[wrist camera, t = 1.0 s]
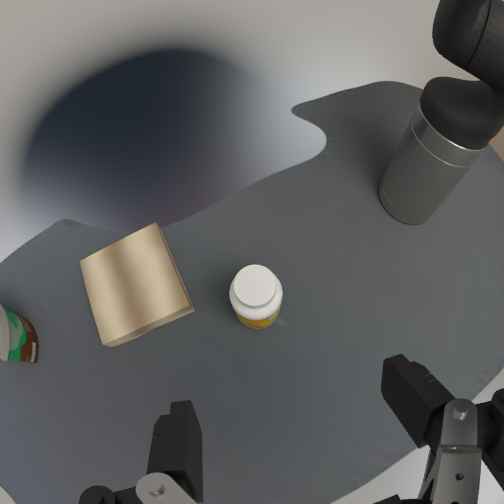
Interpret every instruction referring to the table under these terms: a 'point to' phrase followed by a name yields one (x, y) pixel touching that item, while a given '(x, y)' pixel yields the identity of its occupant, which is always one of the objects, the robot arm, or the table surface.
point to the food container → (17, 338)
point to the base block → (134, 286)
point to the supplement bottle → (256, 296)
